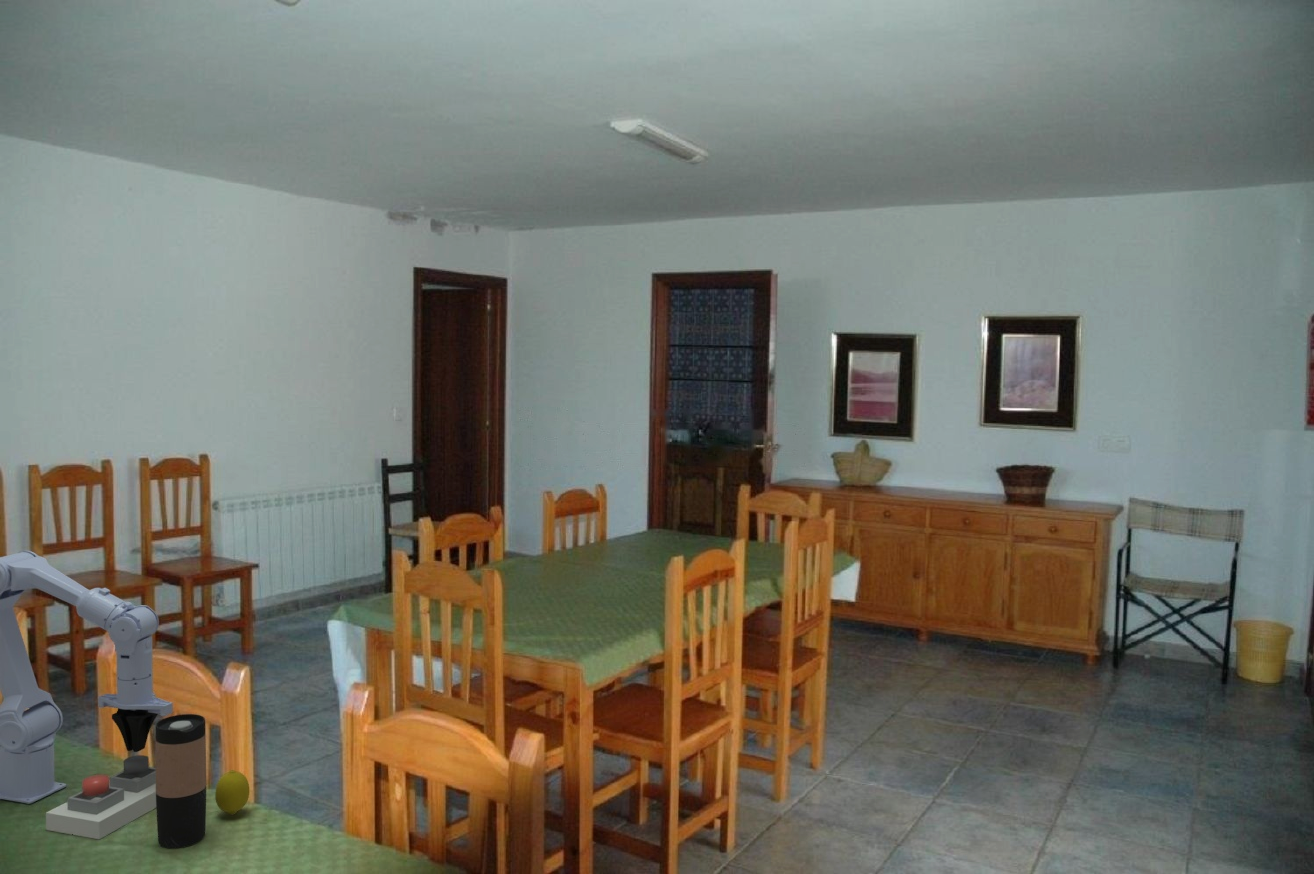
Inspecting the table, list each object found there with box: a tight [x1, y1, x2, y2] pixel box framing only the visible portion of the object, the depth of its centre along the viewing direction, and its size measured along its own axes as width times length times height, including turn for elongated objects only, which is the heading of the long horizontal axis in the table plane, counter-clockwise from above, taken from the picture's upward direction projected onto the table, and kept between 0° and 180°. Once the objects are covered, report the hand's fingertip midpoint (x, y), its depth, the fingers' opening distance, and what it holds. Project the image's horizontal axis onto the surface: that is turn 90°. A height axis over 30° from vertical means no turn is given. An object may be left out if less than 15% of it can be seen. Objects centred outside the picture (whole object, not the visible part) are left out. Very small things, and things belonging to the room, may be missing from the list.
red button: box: [81, 774, 110, 796], centre depth 171 cm, size 4×4×2 cm
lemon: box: [214, 769, 250, 815], centre depth 175 cm, size 6×6×8 cm
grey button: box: [123, 754, 150, 775], centre depth 179 cm, size 4×4×2 cm
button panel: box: [45, 766, 156, 840], centre depth 175 cm, size 11×19×5 cm, turn 165°
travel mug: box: [155, 713, 208, 849], centre depth 165 cm, size 8×8×20 cm
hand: (135, 749), depth 179 cm, fingers closed
